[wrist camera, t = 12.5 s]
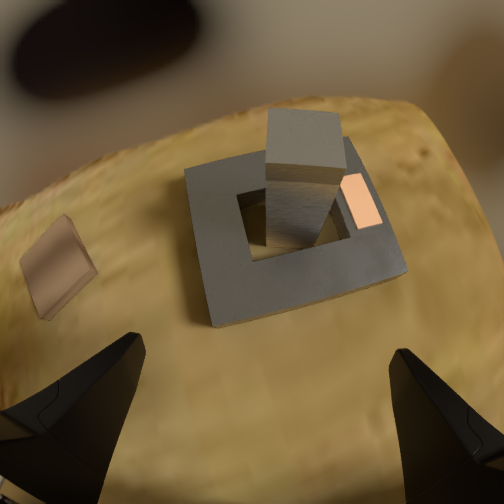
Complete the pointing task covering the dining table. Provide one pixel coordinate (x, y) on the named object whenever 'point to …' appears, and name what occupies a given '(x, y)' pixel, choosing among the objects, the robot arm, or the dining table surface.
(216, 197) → the flange plate
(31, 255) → the pad
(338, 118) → the grey square peg
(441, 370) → the dining table surface
